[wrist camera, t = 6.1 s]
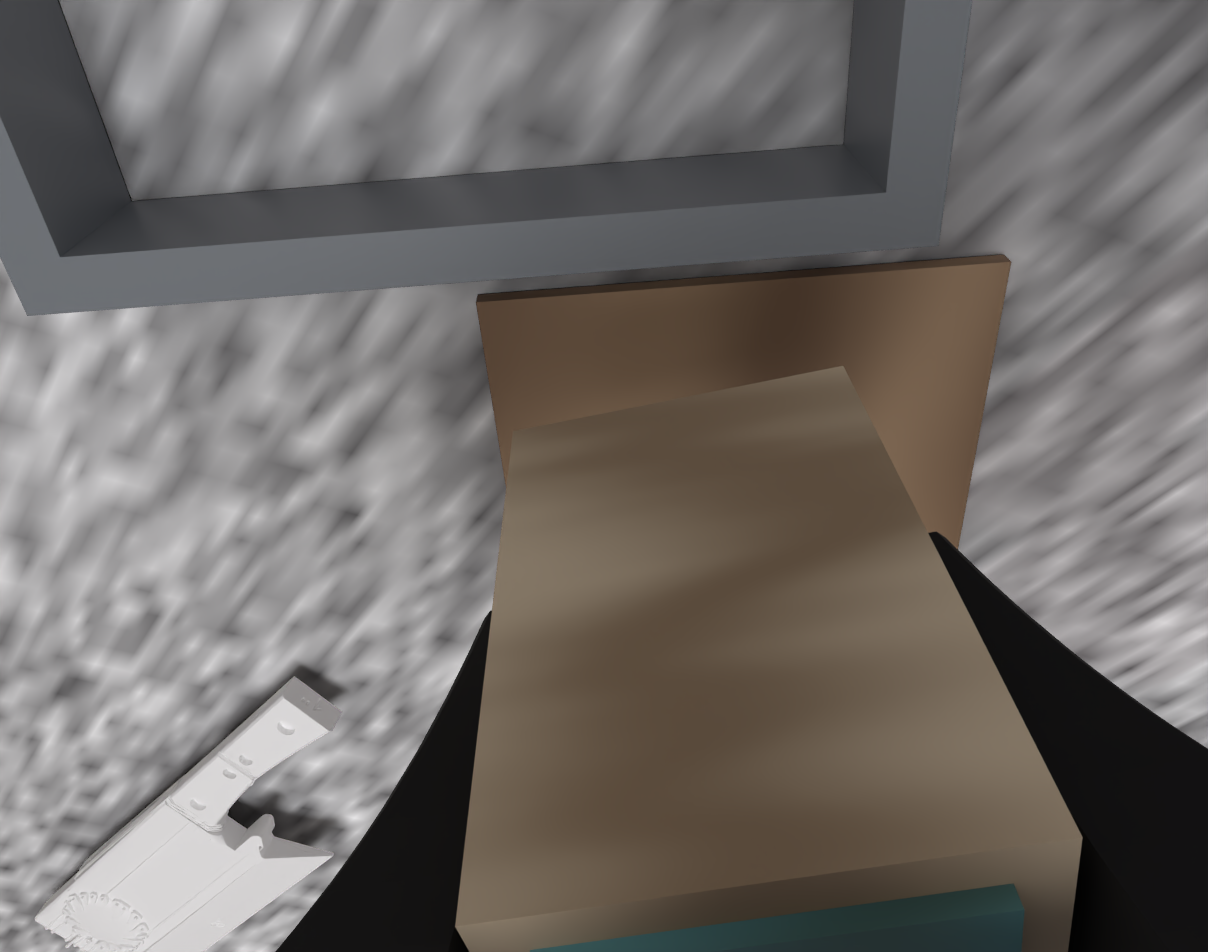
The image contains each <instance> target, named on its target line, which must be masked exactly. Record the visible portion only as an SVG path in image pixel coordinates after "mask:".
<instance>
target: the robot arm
mask: <svg viewBox="0 0 1208 952" xmlns="http://www.w3.org/2000/svg"><path fill="white" fill-rule="evenodd" d="M928 534H929V536H930V538H931V540H932V542H933V544H934V546H935V548H936V550H937V552H938V553H939V555H940V557H941V559H942V561H943V563H944V565H945V567H946V569H947V571H948V573H949V575H950V577H951V579H952V581H953V583H954V585H955V587H956V589H957V591H958V593H959V595H960V597H961V599H962V601H963V603H964V605H965V607H966V609H967V611H968V613H969V615H970V617H971V619H972V620H973V622H974V624H975V626H976V628H977V630H978V632H979V634H980V636H981V638H982V640H983V642H984V644H985V646H986V648H987V650H988V652H989V654H990V656H991V658H992V660H993V662H994V664H995V666H996V668H997V670H998V672H999V674H1000V676H1001V678H1002V680H1003V682H1004V684H1005V686H1006V687H1007V689H1008V691H1009V693H1010V695H1011V697H1012V699H1013V701H1014V703H1015V705H1016V707H1017V709H1018V711H1019V713H1020V715H1021V717H1022V719H1023V721H1024V723H1025V725H1026V727H1027V729H1028V731H1029V733H1030V735H1031V737H1032V739H1033V741H1034V743H1035V745H1036V747H1037V749H1038V751H1039V753H1040V754H1041V756H1042V758H1043V760H1044V762H1045V764H1046V766H1047V768H1048V770H1049V772H1050V774H1051V776H1052V778H1053V780H1054V782H1055V784H1056V786H1057V788H1058V790H1059V792H1060V794H1061V796H1062V798H1063V800H1064V802H1065V804H1066V806H1067V808H1068V810H1069V812H1070V814H1071V816H1072V818H1073V819H1074V821H1075V823H1076V825H1077V827H1078V829H1079V831H1080V833H1081V835H1082V837H1083V839H1082V846H1081V854H1080V862H1079V869H1078V877H1077V885H1076V893H1075V900H1074V908H1073V916H1072V923H1071V931H1070V939H1069V947H1068V952H1208V749H1207V748H1206V747H1204V746H1203V745H1201V744H1200V743H1198V742H1197V741H1195V740H1193V739H1192V738H1190V737H1189V736H1187V735H1186V734H1184V733H1183V732H1181V731H1180V730H1178V729H1177V728H1175V727H1174V726H1172V725H1171V724H1169V723H1168V722H1166V721H1165V720H1163V719H1162V718H1160V717H1159V716H1158V715H1156V714H1155V713H1153V712H1152V711H1150V710H1149V709H1148V708H1146V707H1145V706H1143V705H1142V704H1141V703H1139V702H1138V701H1136V700H1135V699H1134V698H1132V697H1131V696H1129V695H1128V694H1127V693H1125V692H1124V691H1123V690H1121V689H1120V688H1119V687H1117V686H1116V685H1115V684H1113V683H1112V682H1111V681H1109V680H1108V679H1107V678H1105V677H1104V676H1103V675H1101V674H1100V673H1099V672H1097V671H1096V670H1095V669H1093V668H1092V667H1091V666H1090V665H1088V664H1087V663H1086V662H1085V661H1083V660H1082V659H1081V658H1080V657H1078V656H1077V655H1076V654H1074V653H1073V652H1072V651H1071V650H1069V649H1068V648H1067V647H1066V646H1065V645H1063V644H1062V643H1061V642H1060V641H1059V640H1057V639H1056V638H1055V637H1054V636H1053V635H1052V634H1050V633H1049V632H1048V631H1047V630H1046V629H1044V628H1043V627H1042V626H1041V625H1040V624H1038V623H1037V622H1036V621H1035V620H1034V619H1032V618H1031V617H1030V616H1029V615H1028V614H1027V613H1025V612H1024V611H1023V610H1022V609H1021V608H1020V607H1019V606H1017V605H1016V604H1015V603H1014V602H1013V601H1012V600H1011V599H1010V598H1008V597H1007V596H1006V595H1005V594H1004V593H1003V592H1002V591H1001V590H1000V589H999V588H998V587H996V586H995V585H994V584H993V583H992V582H991V581H990V580H989V579H988V578H987V577H986V576H985V575H983V574H982V573H981V572H980V571H979V570H978V569H977V568H976V567H975V566H974V565H973V564H972V563H971V562H970V561H969V560H968V559H967V558H966V557H965V556H964V555H963V554H962V553H961V552H960V551H959V550H958V549H957V548H956V547H955V546H954V545H953V544H952V543H951V542H950V541H949V540H948V539H947V538H946V537H944V536H943V535H941V534H940V533H938V532H937V531H936V532H930V533H928ZM491 615H492V611H490V612H489V613H488V615H487V616H486V617H485V619H484V621H483V623H482V625H481V627H480V629H479V632H478V634H477V636H476V638H475V640H474V642H473V644H472V647H471V649H470V651H469V653H468V655H467V657H466V659H465V661H464V663H463V665H462V667H461V669H460V671H459V673H458V675H457V677H456V679H455V681H454V683H453V685H452V687H451V689H450V691H449V693H448V695H447V697H446V699H445V701H444V703H443V705H442V707H441V708H440V710H439V712H438V714H437V716H436V718H435V720H434V721H433V723H432V725H431V727H430V729H429V731H428V732H427V734H426V736H425V738H424V740H423V742H422V744H421V745H420V747H419V749H418V751H417V752H416V754H415V756H414V757H413V759H412V761H411V762H410V764H409V766H408V767H407V769H406V771H405V772H404V774H403V776H402V777H401V779H400V780H399V782H398V784H397V785H396V787H395V789H394V790H393V792H392V794H391V795H390V797H389V799H388V800H387V802H386V804H385V805H384V807H383V808H382V810H381V811H380V813H379V814H378V816H377V817H376V819H375V820H374V822H373V823H372V825H371V826H370V828H369V829H368V831H367V832H366V834H365V835H364V837H363V838H362V840H361V841H360V843H359V844H358V846H357V847H356V848H355V850H354V851H353V853H352V854H351V855H350V857H349V858H348V860H347V861H346V862H345V864H344V865H343V867H342V868H341V869H340V871H339V872H338V873H337V875H336V876H335V878H334V879H333V880H332V882H331V883H330V884H329V886H328V887H327V888H326V889H325V891H324V892H323V893H322V894H321V896H320V897H319V898H318V900H317V901H316V902H315V903H314V905H313V906H312V907H311V908H310V910H309V911H308V912H307V914H306V915H305V916H304V917H303V919H302V920H301V921H300V922H299V924H298V925H297V926H296V928H295V929H294V930H293V931H292V932H291V934H290V935H289V936H288V937H287V938H286V940H285V941H284V942H283V943H282V945H281V946H280V947H279V948H278V949H277V950H276V952H469V950H468V948H467V947H466V945H465V943H464V941H463V940H462V938H461V936H460V934H459V933H458V931H457V929H456V927H455V924H456V915H457V907H458V898H459V889H460V881H461V872H462V864H463V855H464V847H465V838H466V829H467V821H468V812H469V804H470V795H471V787H472V778H473V769H474V761H475V752H476V744H477V735H478V727H479V718H480V709H481V701H482V692H483V684H484V675H485V667H486V658H487V649H488V641H489V632H490V624H491Z"/></svg>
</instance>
